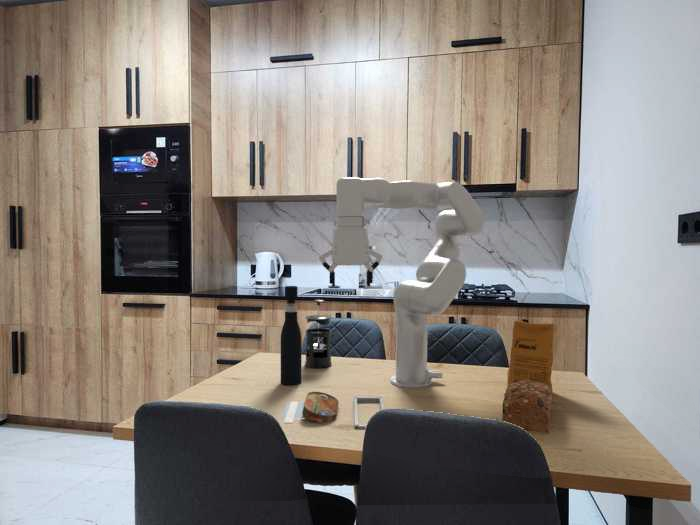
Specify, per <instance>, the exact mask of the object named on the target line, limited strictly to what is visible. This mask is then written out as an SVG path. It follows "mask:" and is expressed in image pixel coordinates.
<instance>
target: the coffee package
mask: <svg viewBox="0 0 700 525" xmlns="http://www.w3.org/2000/svg"><path fill="white" fill-rule="evenodd" d="M513 322H514V323H513V328H512V340H511V341H512V343H511V348H510V359H509V367H508V371H507V379H506V380H507V384H506V386H507V387H508V386H509V385H510V384H513V383H515V382H518V381H519V380H529V381H533V382H539V383H542V384H547V385H548V386H550V387H551V389H552V398H553V397H554V392H553V385H552V380H551V378H552V373H553V372H552V367H553V361H554V346H553V345H554V332H555V324H554V323H553V322H550V323H549V322H546V323H531V322H526V321H521V320H517V319H514V321H513Z"/></svg>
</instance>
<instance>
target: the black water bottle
mask: <svg viewBox="0 0 700 525" xmlns="http://www.w3.org/2000/svg"><path fill="white" fill-rule="evenodd" d="M284 298H286V304H287V305H286V306H285V308H286V309H285V311H284V323H283V326H282V329H281V333H280V385H282V386H287V387H292V386H293V387H294V386H298V385H301V384H302V346H303V345H302V339H303V338H302V332H301V328H300V324H299V322H298V311H297V307H298V306H297V305H296V298H298V286H296V285H286V286H284Z"/></svg>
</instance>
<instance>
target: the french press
mask: <svg viewBox="0 0 700 525" xmlns="http://www.w3.org/2000/svg"><path fill="white" fill-rule="evenodd" d="M312 302H315V303H316V305H317V314H312V315H306V317H305V319H306V323H307V324H308V323H311V322H316V323H317V328H315V327H314V328H308V329H306V330H305V335H306V353H305V362H304V365H305V366H306V367H308V368H314V369H315V368H317V369H318V368H319V369H320V368H328V367H331V365H332V354H331V335H332V330H331V328H323V327H321V328H320V325H322V326H326V325H330V323H331V319H332V316H331V315H327V314H326V315H325V314H320V306H321V303H323V302H325V300H324V299H319V298H317V299H313V300H312ZM314 338H317V343H314V342H315V341H314V340H315V339H314ZM320 338H322V343H320Z"/></svg>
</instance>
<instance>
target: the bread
mask: <svg viewBox="0 0 700 525" xmlns="http://www.w3.org/2000/svg"><path fill="white" fill-rule="evenodd" d="M552 391H553V388H552V389H551V387H550V386H548V385H547V384H542V383H539V382H533V381H529V380H519V381H518V382H515V383H513V384H510V385H509V386H508V387H507V388H506V389H505V393H504V397H503V400H502V411H501V412H502V415H501V416H502V422H503V421H506V422H509V423H512V424H515V425H517V426H520V427H522V428H524V429H525V430H524V431H527V432H535V433H542V434H549V431H550V423H551V422H550V421H551V410H552V409H551V408H552V402H553V400H552V398H553V397H552Z"/></svg>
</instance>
